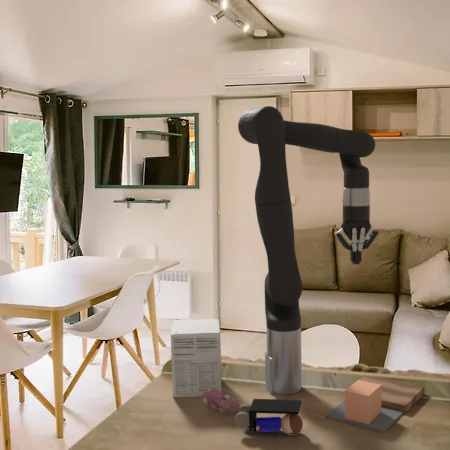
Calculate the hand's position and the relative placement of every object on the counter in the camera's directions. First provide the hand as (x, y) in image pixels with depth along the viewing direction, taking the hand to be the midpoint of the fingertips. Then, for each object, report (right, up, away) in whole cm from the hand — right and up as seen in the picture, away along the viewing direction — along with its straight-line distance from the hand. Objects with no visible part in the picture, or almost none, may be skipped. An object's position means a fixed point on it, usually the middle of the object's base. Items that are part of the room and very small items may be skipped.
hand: (355, 263), depth 183 cm
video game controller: (-38, -36, -22) cm, 57 cm away
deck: (+4, -34, -16) cm, 37 cm away
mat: (-3, -35, -27) cm, 44 cm away
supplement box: (-45, -34, -7) cm, 57 cm away
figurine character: (-27, -37, -34) cm, 57 cm away
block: (-2, -31, -25) cm, 40 cm away
